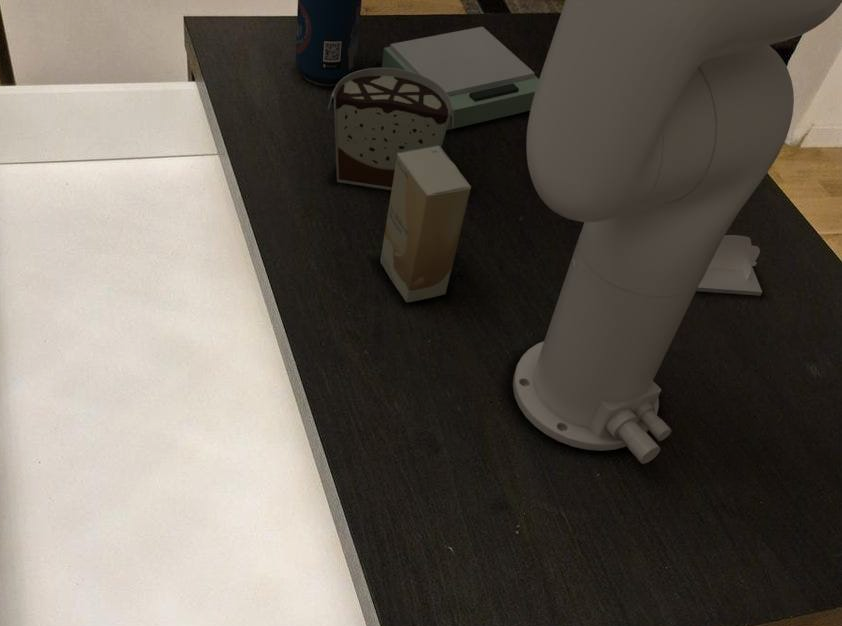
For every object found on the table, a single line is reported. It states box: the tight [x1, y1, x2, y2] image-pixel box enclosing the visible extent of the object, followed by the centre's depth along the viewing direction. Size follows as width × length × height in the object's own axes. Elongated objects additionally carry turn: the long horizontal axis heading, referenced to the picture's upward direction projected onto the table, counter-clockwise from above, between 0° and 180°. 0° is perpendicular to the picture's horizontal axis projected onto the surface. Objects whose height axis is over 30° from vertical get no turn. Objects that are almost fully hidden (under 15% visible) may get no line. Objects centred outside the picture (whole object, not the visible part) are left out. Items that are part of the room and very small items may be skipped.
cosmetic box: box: [380, 146, 472, 304], centre depth 85 cm, size 6×4×12 cm
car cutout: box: [696, 234, 763, 297], centre depth 93 cm, size 15×7×4 cm, turn 92°
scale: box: [381, 26, 540, 131], centre depth 110 cm, size 14×14×3 cm
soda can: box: [295, 0, 362, 87], centre depth 105 cm, size 7×7×12 cm
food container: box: [326, 67, 455, 191], centre depth 96 cm, size 12×6×10 cm, turn 84°
